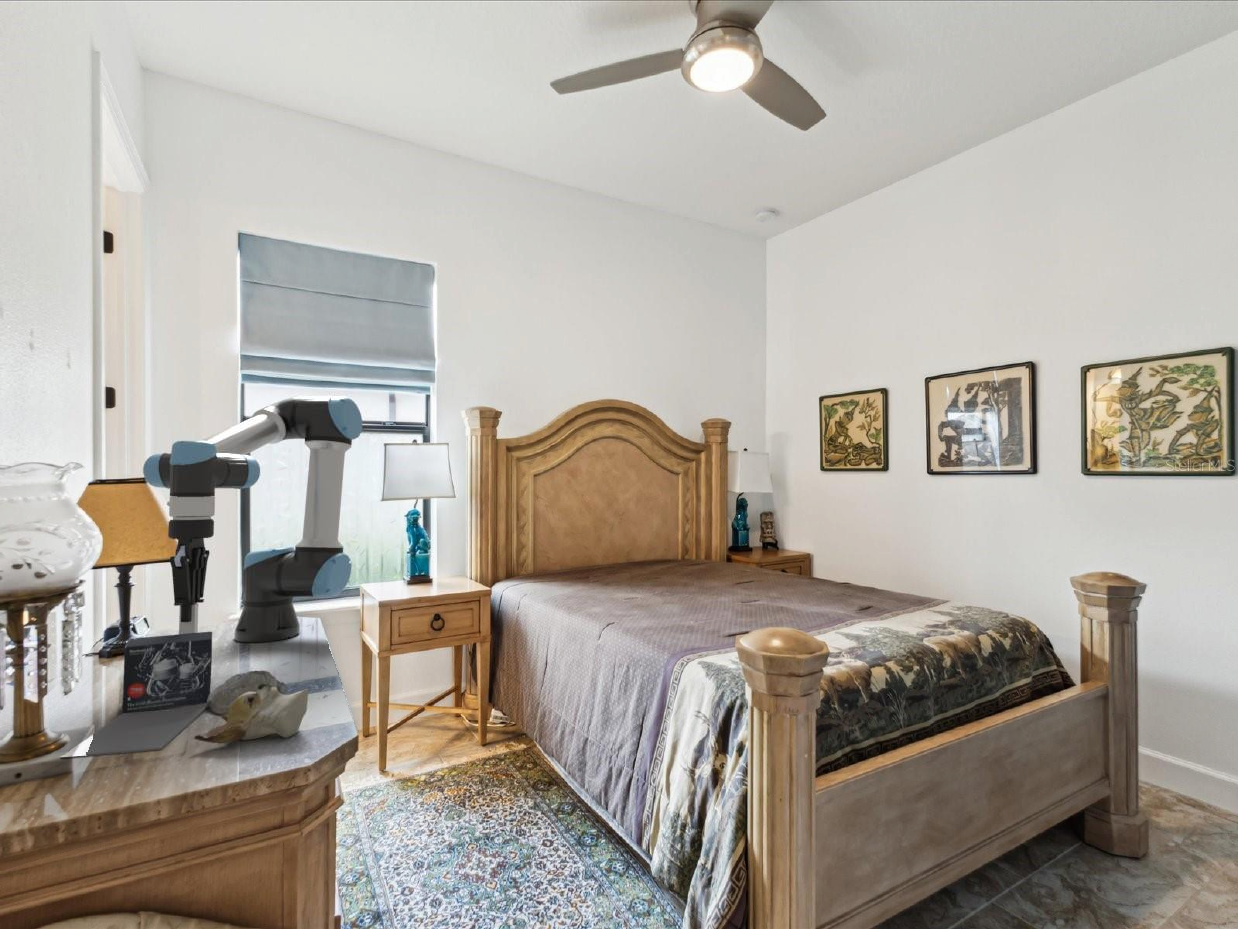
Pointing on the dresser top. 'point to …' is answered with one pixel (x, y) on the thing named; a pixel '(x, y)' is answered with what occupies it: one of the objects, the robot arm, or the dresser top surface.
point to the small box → (166, 671)
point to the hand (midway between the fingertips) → (188, 637)
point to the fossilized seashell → (240, 689)
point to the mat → (141, 731)
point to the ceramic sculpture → (260, 716)
